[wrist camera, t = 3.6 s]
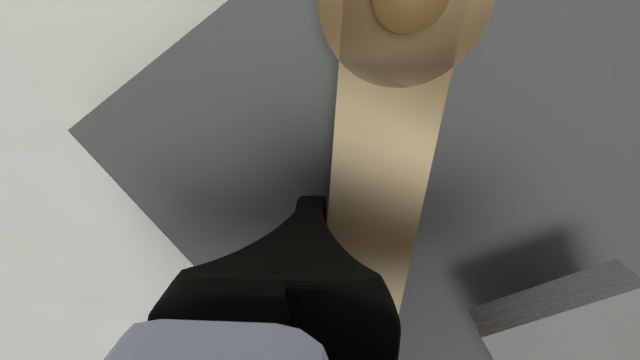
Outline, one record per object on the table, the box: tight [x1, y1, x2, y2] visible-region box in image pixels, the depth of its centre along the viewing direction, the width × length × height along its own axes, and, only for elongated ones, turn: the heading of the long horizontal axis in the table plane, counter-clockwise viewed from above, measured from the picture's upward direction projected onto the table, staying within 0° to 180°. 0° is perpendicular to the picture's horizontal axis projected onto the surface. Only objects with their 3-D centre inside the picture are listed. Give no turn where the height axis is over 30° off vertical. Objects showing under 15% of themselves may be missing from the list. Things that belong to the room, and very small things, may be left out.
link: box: [318, 0, 496, 315], centre depth 10 cm, size 16×5×2 cm, turn 177°
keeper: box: [468, 259, 640, 360], centre depth 12 cm, size 8×5×4 cm, turn 32°
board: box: [68, 0, 640, 360], centre depth 14 cm, size 20×24×1 cm
